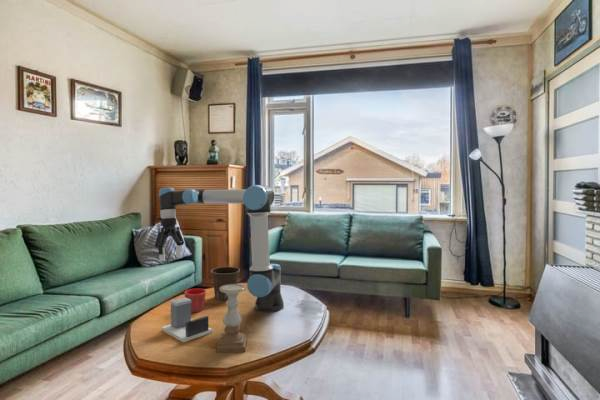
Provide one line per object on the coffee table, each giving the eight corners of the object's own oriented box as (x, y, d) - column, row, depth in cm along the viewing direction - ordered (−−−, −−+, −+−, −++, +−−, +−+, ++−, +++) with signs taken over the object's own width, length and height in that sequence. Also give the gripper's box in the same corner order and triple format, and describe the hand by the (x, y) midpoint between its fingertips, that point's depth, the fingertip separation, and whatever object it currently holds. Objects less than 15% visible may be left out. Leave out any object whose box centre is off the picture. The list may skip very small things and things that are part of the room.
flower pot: (209, 306, 189) (209, 288, 189) (201, 313, 178) (201, 294, 178) (189, 305, 190) (189, 287, 190) (180, 313, 179) (180, 293, 179)
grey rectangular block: (170, 325, 159) (170, 300, 159) (185, 320, 165) (185, 297, 164) (176, 328, 156) (176, 303, 155) (191, 323, 161) (191, 299, 161)
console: (161, 330, 158) (161, 313, 157) (190, 321, 168) (190, 305, 168) (183, 342, 146) (183, 324, 145) (212, 332, 156) (212, 315, 156)
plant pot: (230, 303, 194) (230, 274, 193) (205, 300, 200) (205, 271, 199) (245, 295, 209) (245, 268, 209) (221, 292, 215) (221, 265, 214)
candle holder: (220, 340, 148) (220, 283, 147) (246, 339, 149) (247, 283, 148) (216, 352, 137) (216, 291, 136) (245, 352, 138) (245, 291, 137)
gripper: (177, 218, 197) (179, 257, 195) (145, 219, 173) (148, 263, 171) (189, 217, 194) (191, 256, 193) (158, 217, 171) (161, 262, 169)
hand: (171, 259), depth 182 cm, fingers open, 13 cm apart
